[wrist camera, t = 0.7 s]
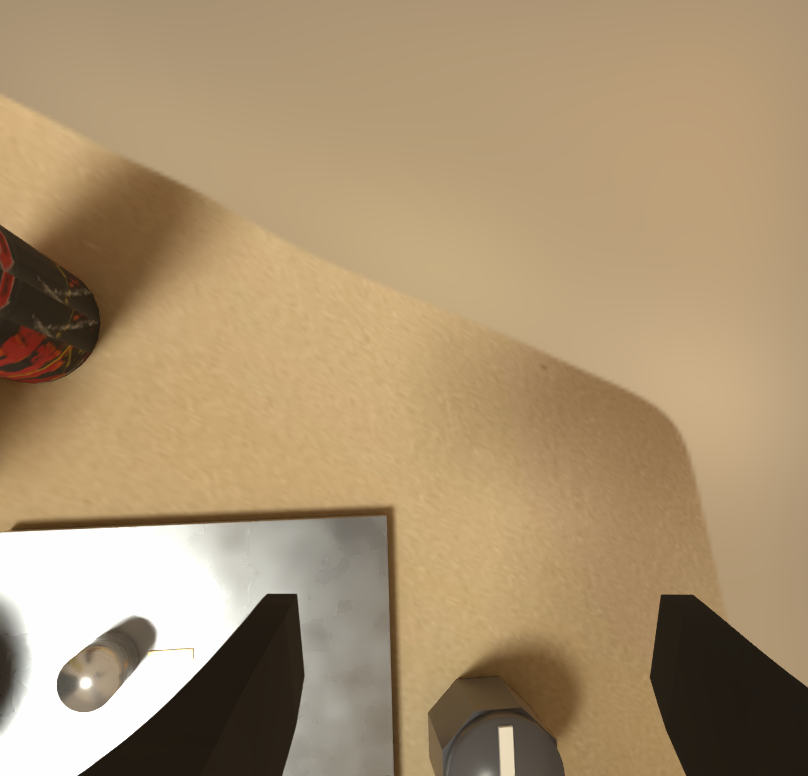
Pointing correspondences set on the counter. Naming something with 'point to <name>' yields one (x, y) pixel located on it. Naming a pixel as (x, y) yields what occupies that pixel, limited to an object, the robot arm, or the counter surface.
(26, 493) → the counter surface
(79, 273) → the counter surface
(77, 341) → the deodorant
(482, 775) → the knob
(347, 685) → the panel
